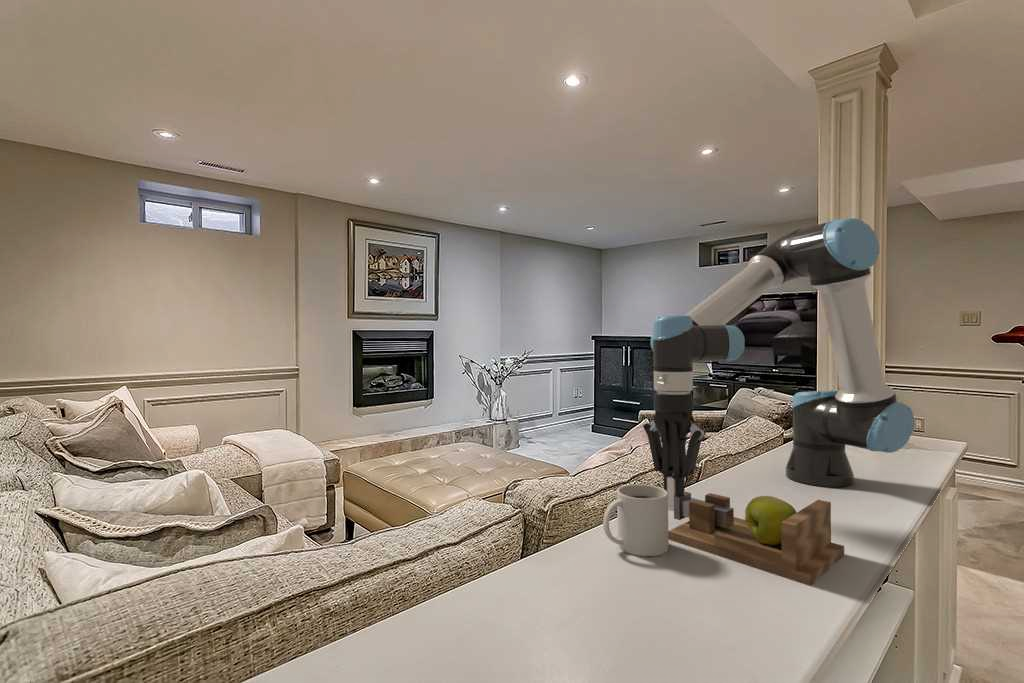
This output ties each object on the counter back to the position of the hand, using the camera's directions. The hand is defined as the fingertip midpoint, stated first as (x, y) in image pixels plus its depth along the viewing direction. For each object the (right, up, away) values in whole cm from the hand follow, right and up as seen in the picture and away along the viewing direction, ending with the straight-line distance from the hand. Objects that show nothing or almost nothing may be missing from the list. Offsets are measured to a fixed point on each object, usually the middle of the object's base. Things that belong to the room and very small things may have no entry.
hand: (674, 508), depth 102 cm
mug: (-10, -3, -11) cm, 15 cm away
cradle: (+10, -3, -12) cm, 16 cm away
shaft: (+4, -1, -5) cm, 6 cm away
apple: (+12, -2, -14) cm, 19 cm away
